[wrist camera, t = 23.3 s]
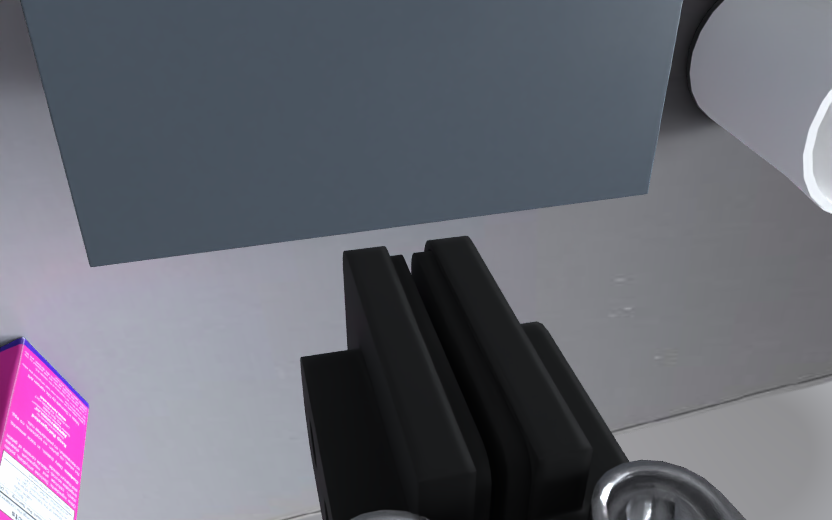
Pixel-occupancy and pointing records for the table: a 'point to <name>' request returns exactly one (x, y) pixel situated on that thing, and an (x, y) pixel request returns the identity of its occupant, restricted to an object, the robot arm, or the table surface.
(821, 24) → the mug
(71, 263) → the table surface
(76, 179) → the bin lid
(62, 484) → the supplement box
